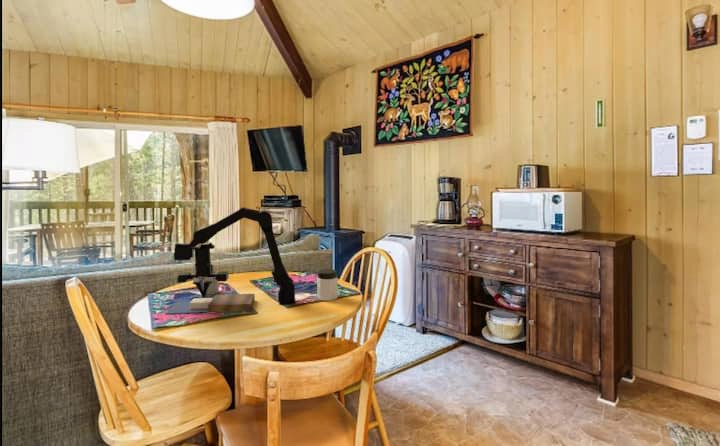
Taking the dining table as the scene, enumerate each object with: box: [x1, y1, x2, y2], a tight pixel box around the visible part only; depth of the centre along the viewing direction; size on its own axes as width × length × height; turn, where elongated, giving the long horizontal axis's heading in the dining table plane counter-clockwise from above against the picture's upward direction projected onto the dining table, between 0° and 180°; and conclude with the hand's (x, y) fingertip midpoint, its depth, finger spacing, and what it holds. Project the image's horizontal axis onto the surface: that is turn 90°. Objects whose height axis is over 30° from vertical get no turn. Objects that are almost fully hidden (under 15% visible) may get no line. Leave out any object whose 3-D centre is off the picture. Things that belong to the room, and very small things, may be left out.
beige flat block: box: [189, 297, 214, 309], centre depth 172 cm, size 8×6×2 cm
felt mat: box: [165, 301, 208, 315], centre depth 171 cm, size 16×14×1 cm
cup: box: [203, 270, 220, 295], centre depth 193 cm, size 7×10×9 cm
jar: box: [316, 268, 338, 302], centre depth 184 cm, size 9×8×12 cm
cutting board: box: [208, 293, 256, 313], centre depth 173 cm, size 16×14×3 cm
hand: (204, 297), depth 171 cm, fingers closed
